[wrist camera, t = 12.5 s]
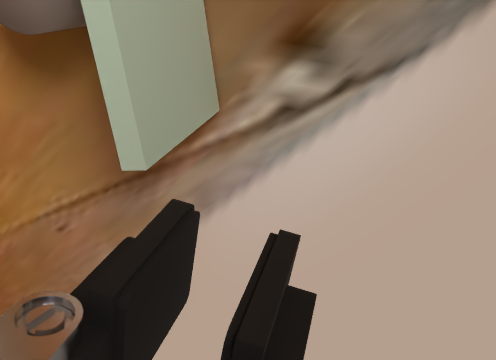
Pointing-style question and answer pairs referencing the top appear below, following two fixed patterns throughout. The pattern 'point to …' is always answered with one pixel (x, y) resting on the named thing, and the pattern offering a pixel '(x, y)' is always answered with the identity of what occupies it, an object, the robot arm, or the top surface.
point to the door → (152, 73)
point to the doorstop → (41, 15)
